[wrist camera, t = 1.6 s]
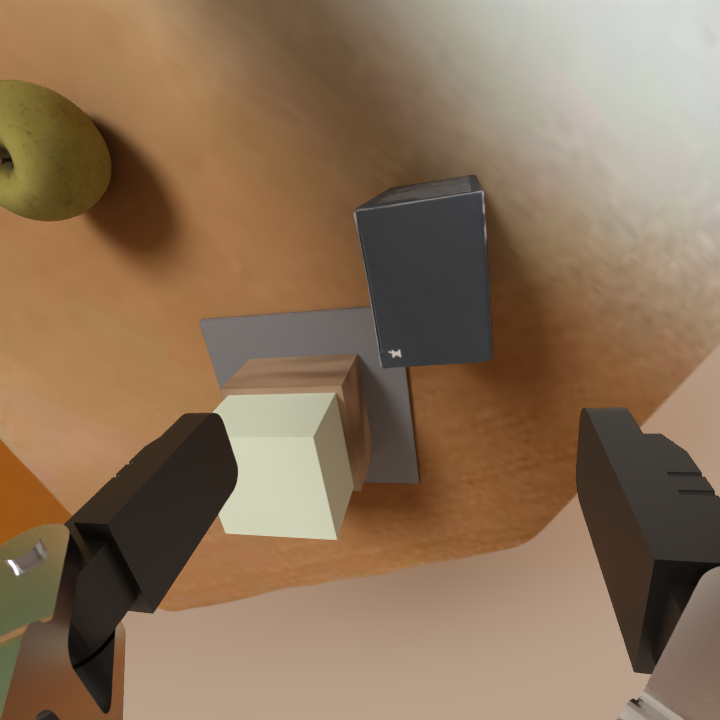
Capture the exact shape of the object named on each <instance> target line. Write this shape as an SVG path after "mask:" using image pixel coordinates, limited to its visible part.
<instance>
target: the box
mask: <svg viewBox="0 0 720 720" xmlns="http://www.w3.org/2000/svg"><path fill="white" fill-rule="evenodd" d="M353 216H354V220H355V223H356V228H357V232H358V237H359V242H360V247H361V251H362V258H363V264H364V269H365V274H366V279H367V284H368V290H369V297H370V302H371V308H372V315H373V320H374V327H375V333H376V339H377V346H378V353H379V361H380V365H381V367H382V368H383V369H388V368H399V367H412V366H428V365H442V364H459V363H471V362H482V361H491V360H493V345H492V326H491V307H490V285H489V266H488V250H487V234H486V218H485V199H484V191H483V190H482V188H481V186H480V184H479V182H478V179H477V177H476V176H475V175H469V176H464V177H457V178H451V179H445V180H439V181H433V182H427V183H420V184H413V185H407V186H401V187H395V188H390V189H388V190H386V191H385V192H383V193H381V194H380V195H378V196H376V197H375V198H373V199H371V200H370V201H368V202H366V203H364V204H362V205H361V206H360V207H358V208H357V209H356V210H355V211H354V213H353Z"/></svg>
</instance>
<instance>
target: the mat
mask: <svg viewBox="0 0 720 720" xmlns="http://www.w3.org/2000/svg"><path fill="white" fill-rule="evenodd" d="M199 323H200V326H201V330H202V333H203V336H204V339H205V342H206V345H207V348H208V351H209V355H210V358H211V361H212V364H213V367H214V370H215V373H216V377H217V380H218V383H219V386H220V389H221V388H222V387H223V386H224V385H225V384H226V383H227V382H228V381H229V380H230V379H231V378H232V377H233V376H234V375H235V374H236V372H237V371H238V370H239V369H240V368H241V367H242V366H243V365H244V364H245V363H246V362H247V361H248V360H249V359H257V358H277V357H297V356H318V355H338V354H358V360H359V366H360V372H361V378H362V384H363V390H364V396H365V402H366V408H367V414H368V420H369V427H370V433H371V439H372V445H373V453H372V457H371V460H370V464H369V467H368V471H367V474H366V478H365V481H364V482H368V483H407V484H419V474H418V465H417V457H416V448H415V440H414V431H413V423H412V414H411V405H410V397H409V388H408V380H407V371H406V367H399V368H388V369H383V368H382V367H381V365H380V361H379V353H378V346H377V339H376V333H375V327H374V320H373V315H372V308H371V307H358V308H345V309H332V310H319V311H305V312H292V313H279V314H266V315H253V316H240V317H227V318H213V319H201V320H200V321H199Z"/></svg>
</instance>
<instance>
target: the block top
mask: <svg viewBox="0 0 720 720" xmlns="http://www.w3.org/2000/svg"><path fill="white" fill-rule="evenodd" d="M213 413H217V414H218V415H220V416H221V418H222V420H223V422H224V425H225V428H226V431H227V434H228V437H229V440H230V443H231V446H232V450H233V453H234V456H235V459H236V462H237V465H238V479H237V484H236V487H235V489H234V491H233V492H232V494H231V495H230V497H229V498H228V500H227V502H226V503H225V505H224V506H223V508H222V509H221V511H220V512H219V517H220V519H221V522H222V525H223V527H224V530H225V533H229V534H246V535H263V536H279V537H296V538H313V539H329V540H337V538H338V535H339V532H340V529H341V526H342V523H343V519H344V516H345V513H346V510H347V507H348V503H349V500H350V497H351V494H352V491H353V488H354V484H353V479H352V474H351V469H350V464H349V459H348V454H347V449H346V443H345V438H344V433H343V428H342V423H341V418H340V413H339V408H338V403H337V398H336V393H302V394H265V395H228V396H227V397H226V398H225V399H224V401H223V402H222V403H221V404H220V405H219V406H218V407H217V408H216V409H215V410H214V411H213Z"/></svg>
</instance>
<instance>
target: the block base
mask: <svg viewBox="0 0 720 720" xmlns="http://www.w3.org/2000/svg"><path fill="white" fill-rule="evenodd" d="M220 391H221V395H222V398H223V401H224V399H225V398H226V397H227V396H228V395H265V394H302V393H336V398H337V403H338V408H339V413H340V418H341V423H342V428H343V433H344V438H345V443H346V449H347V454H348V459H349V464H350V469H351V474H352V479H353V484H354V488H353V491H354V492H362V488H363V485H364V481H365V478H366V474H367V471H368V467H369V464H370V460H371V457H372V453H373V445H372V439H371V433H370V427H369V420H368V414H367V408H366V402H365V396H364V390H363V384H362V378H361V372H360V366H359V360H358V354H338V355H318V356H297V357H277V358H257V359H249V360H248V361H247V362H246V363H245V364H244V365H243V366H242V367H241V368H240V369H239V370H238V371H237V372H236V374H235V375H234V376H233V377H232V378H231V379H230V380H229V381H228V382H227V383H226V384H225V385H224V386H223V387H222V388H221V389H220Z"/></svg>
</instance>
